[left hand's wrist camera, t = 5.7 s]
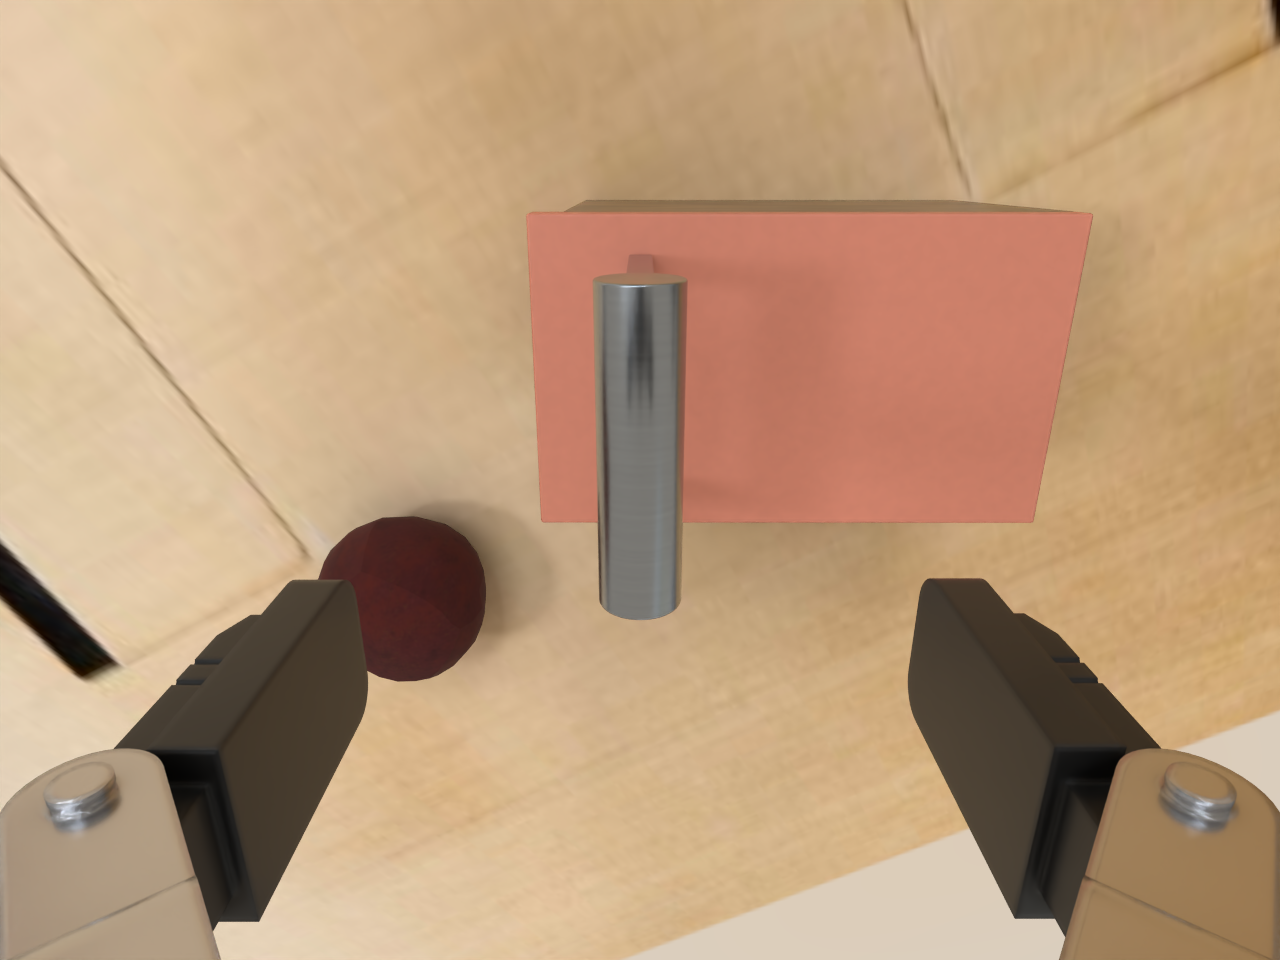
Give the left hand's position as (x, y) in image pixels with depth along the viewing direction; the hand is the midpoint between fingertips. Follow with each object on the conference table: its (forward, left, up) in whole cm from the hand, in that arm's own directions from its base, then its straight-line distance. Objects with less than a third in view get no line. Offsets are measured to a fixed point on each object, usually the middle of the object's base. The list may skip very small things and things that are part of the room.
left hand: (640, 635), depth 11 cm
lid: (-3, +4, -16) cm, 17 cm away
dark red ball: (+16, 0, -26) cm, 31 cm away
